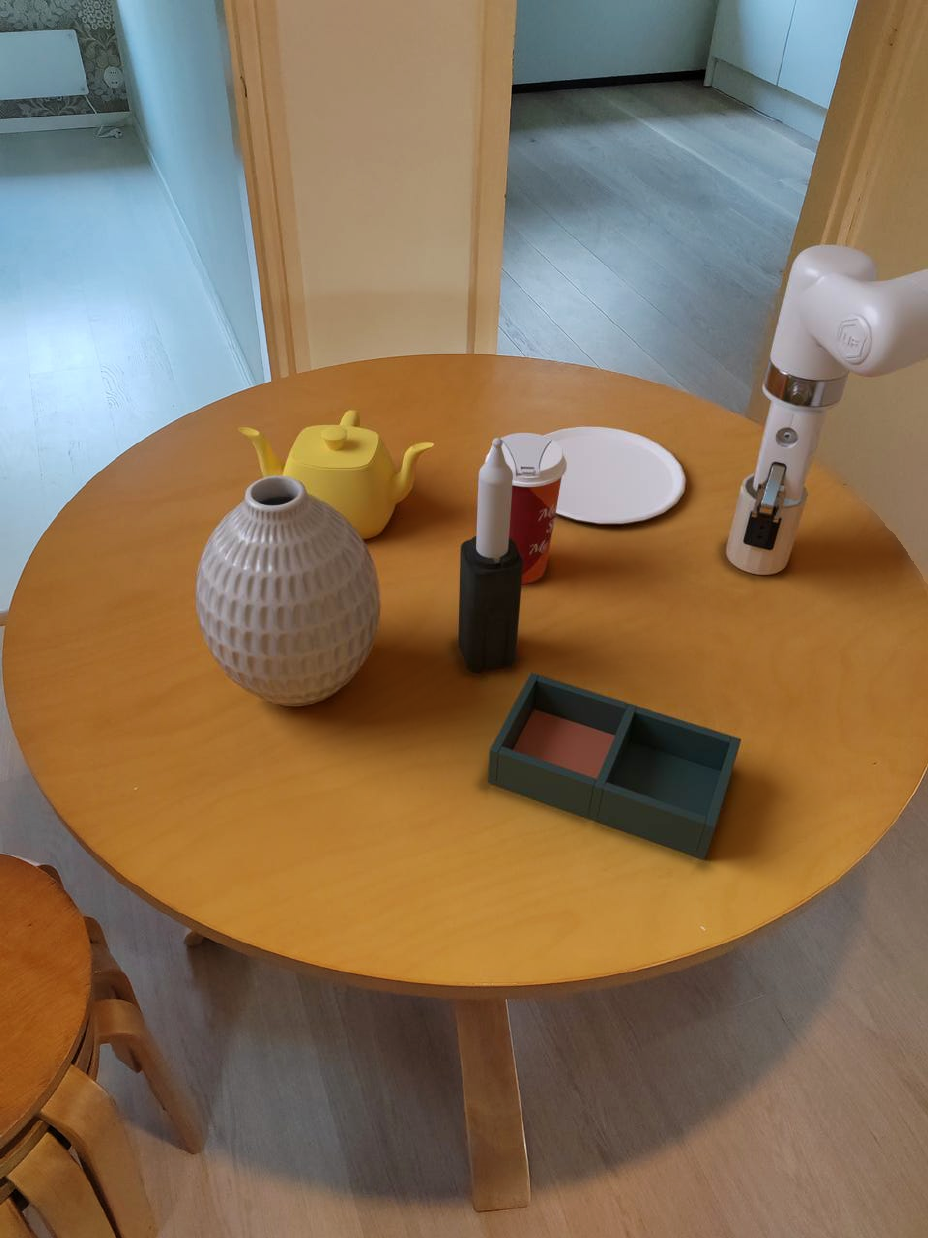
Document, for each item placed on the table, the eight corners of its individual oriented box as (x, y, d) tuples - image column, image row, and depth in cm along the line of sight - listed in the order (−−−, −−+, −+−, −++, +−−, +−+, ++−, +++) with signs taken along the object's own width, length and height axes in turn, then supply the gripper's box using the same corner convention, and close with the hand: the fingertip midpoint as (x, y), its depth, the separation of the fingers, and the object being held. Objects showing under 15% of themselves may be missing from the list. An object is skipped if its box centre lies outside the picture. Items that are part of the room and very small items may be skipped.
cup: (792, 546, 112) (812, 480, 106) (781, 581, 107) (801, 514, 101) (732, 531, 114) (749, 465, 108) (719, 565, 109) (736, 498, 103)
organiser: (730, 772, 88) (741, 738, 85) (704, 860, 81) (715, 827, 78) (528, 705, 94) (531, 671, 91) (487, 783, 87) (489, 749, 84)
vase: (294, 773, 87) (264, 582, 72) (180, 684, 95) (132, 494, 80) (418, 675, 96) (415, 487, 81) (305, 601, 104) (283, 416, 89)
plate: (679, 439, 129) (681, 431, 128) (689, 537, 113) (691, 528, 112) (520, 427, 130) (521, 419, 129) (509, 522, 115) (509, 514, 114)
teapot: (444, 475, 121) (444, 397, 114) (425, 553, 110) (424, 472, 103) (270, 460, 123) (259, 382, 116) (233, 536, 112) (219, 455, 104)
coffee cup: (557, 592, 106) (570, 475, 96) (480, 590, 106) (485, 473, 96) (553, 543, 112) (565, 429, 102) (481, 541, 112) (485, 427, 102)
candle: (469, 674, 96) (476, 459, 79) (455, 639, 100) (460, 426, 83) (518, 665, 97) (536, 450, 81) (503, 631, 101) (517, 418, 84)
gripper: (831, 430, 89) (785, 582, 101) (855, 349, 101) (811, 492, 113) (748, 412, 91) (712, 562, 103) (781, 334, 103) (746, 477, 115)
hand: (764, 525), depth 108 cm, fingers closed on cup, 6 cm apart
